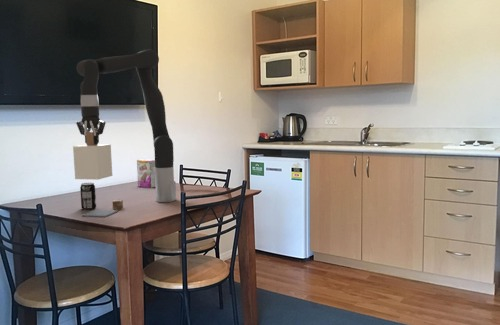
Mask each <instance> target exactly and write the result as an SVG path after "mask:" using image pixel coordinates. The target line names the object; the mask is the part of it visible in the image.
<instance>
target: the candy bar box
mask: <svg viewBox="0 0 500 325" xmlns="http://www.w3.org/2000/svg"><path fill="white" fill-rule="evenodd" d="M136 169H137V171H136V172H137V187H140V188H141V187H142V188H150V189H152V188H156V183H155V159H146V158H145V159H143V158H142V159H137V160H136Z"/></svg>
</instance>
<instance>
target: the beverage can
mask: <svg viewBox="0 0 500 325" xmlns="http://www.w3.org/2000/svg"><path fill="white" fill-rule="evenodd" d="M79 189H80V203H81V207H80V208H81V209H82V210H84V211H85V210H86V211H87V210H88V211H89V210H96V207H97V197H96V195H97V194H96V185H95V183H94V182H83V183H81V184H80V188H79Z"/></svg>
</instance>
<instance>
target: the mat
mask: <svg viewBox="0 0 500 325" xmlns="http://www.w3.org/2000/svg"><path fill="white" fill-rule="evenodd" d="M118 211H119V209H118V210H113V209H112V210H111V209H93V210H92V211H90V212H87V213H84V214H82V217H87V218H88V217H91V218H107V217H109V216H111V215H114V214H116V213H118Z"/></svg>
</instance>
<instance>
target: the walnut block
mask: <svg viewBox="0 0 500 325" xmlns="http://www.w3.org/2000/svg"><path fill="white" fill-rule="evenodd" d="M123 201H124V200H123V199H113V200H112V210H118V211H119V210H122V209H123V208H124V202H123Z"/></svg>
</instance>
